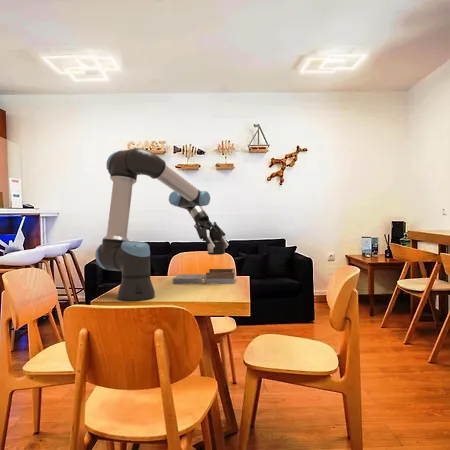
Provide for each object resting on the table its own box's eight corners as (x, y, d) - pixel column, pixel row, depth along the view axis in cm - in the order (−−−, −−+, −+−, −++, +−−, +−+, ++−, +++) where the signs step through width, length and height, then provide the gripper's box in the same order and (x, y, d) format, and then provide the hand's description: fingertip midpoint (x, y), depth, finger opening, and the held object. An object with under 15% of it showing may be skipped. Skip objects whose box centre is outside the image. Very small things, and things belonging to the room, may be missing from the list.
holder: (233, 278, 194) (233, 272, 194) (206, 278, 195) (206, 272, 195) (235, 274, 210) (234, 268, 210) (209, 274, 211) (209, 268, 211)
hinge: (233, 283, 193) (233, 278, 193) (172, 284, 195) (172, 278, 195) (235, 278, 211) (235, 273, 211) (179, 278, 213) (179, 273, 213)
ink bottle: (207, 253, 203) (207, 230, 202) (224, 253, 203) (223, 230, 203) (207, 255, 193) (207, 231, 193) (225, 255, 194) (224, 231, 193)
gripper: (211, 220, 216) (232, 250, 205) (180, 221, 202) (200, 253, 190) (217, 211, 212) (238, 240, 201) (186, 211, 198) (207, 243, 186)
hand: (220, 247), depth 196 cm, fingers closed on ink bottle, 9 cm apart
